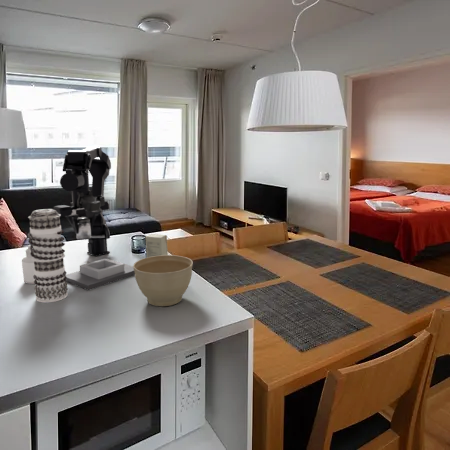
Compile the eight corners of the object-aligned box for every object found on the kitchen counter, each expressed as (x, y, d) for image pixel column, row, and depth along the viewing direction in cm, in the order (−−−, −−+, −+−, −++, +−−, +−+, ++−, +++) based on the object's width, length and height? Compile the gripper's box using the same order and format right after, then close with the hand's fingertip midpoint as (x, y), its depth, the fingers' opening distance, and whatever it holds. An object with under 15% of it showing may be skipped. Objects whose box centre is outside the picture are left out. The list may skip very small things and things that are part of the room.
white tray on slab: (114, 264, 136) (114, 254, 135) (140, 272, 128) (140, 261, 127) (62, 280, 121) (61, 268, 120) (88, 290, 112) (87, 277, 111)
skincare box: (168, 268, 132) (167, 234, 130) (162, 272, 128) (161, 237, 126) (152, 266, 134) (151, 233, 132) (146, 270, 130) (145, 236, 128)
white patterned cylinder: (56, 288, 114) (48, 206, 108) (76, 294, 109) (69, 209, 104) (27, 298, 106) (17, 211, 101) (48, 305, 101) (39, 214, 96)
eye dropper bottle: (29, 286, 115) (25, 248, 113) (22, 281, 119) (18, 245, 116) (44, 282, 118) (40, 245, 116) (37, 278, 122) (33, 242, 120)
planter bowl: (172, 285, 117) (171, 251, 115) (204, 301, 105) (204, 264, 103) (124, 298, 107) (122, 261, 104) (154, 318, 95) (152, 277, 92)
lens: (86, 235, 136) (84, 216, 134) (94, 237, 133) (92, 218, 132) (74, 238, 132) (72, 218, 131) (81, 240, 129) (80, 220, 128)
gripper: (68, 192, 117) (72, 241, 120) (117, 187, 131) (120, 230, 135) (49, 189, 123) (53, 235, 127) (98, 185, 138) (101, 226, 141)
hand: (83, 232), depth 132 cm, fingers closed on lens, 5 cm apart
